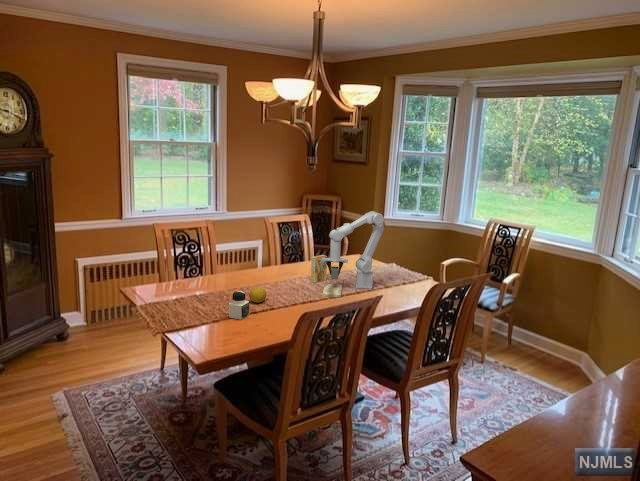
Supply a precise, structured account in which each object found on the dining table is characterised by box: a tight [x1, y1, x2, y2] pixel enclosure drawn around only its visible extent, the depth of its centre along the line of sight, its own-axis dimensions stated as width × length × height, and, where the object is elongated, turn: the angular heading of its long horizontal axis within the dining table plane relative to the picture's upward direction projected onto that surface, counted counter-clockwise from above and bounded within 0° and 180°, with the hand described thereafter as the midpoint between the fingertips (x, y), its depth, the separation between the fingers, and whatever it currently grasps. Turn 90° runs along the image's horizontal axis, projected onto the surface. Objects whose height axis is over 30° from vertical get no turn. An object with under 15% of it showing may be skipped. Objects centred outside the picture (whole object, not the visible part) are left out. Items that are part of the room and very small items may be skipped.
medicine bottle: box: [228, 290, 250, 321], centre depth 231 cm, size 7×7×12 cm
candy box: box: [310, 254, 328, 284], centre depth 289 cm, size 9×4×15 cm, turn 129°
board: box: [322, 283, 343, 298], centre depth 272 cm, size 10×19×1 cm, turn 176°
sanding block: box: [330, 265, 339, 281], centre depth 274 cm, size 4×7×6 cm, turn 179°
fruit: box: [248, 286, 267, 304], centre depth 251 cm, size 9×8×8 cm
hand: (334, 274), depth 275 cm, fingers closed on sanding block, 4 cm apart
